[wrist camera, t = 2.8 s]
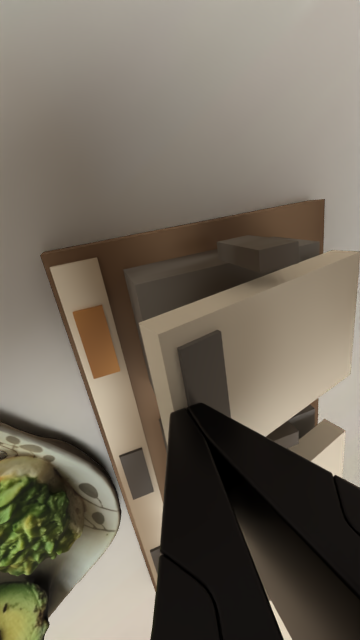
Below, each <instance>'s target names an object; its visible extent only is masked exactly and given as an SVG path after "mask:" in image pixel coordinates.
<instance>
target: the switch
mask: <svg viewBox="0 0 360 640" xmlns="http://www.w3.org/2000/svg"><path fill="white" fill-rule="evenodd" d="M359 261H360V252H357V251H338V250H331V251H329V252H326V253H323V254H321V255H318V256H315V257H313V258H310V259H307V260H305V261H302V262H299V263H298V264H294V265H291V266H289V267H286V268H283V269H281V270H278V271H275V272H273V273H270V274H267V275H265V276H262V277H259V278H257V279H254V280H251V281H249V282H246V283H243V284H241V285H238V286H235V287H233V288H230V289H227V290H225V291H222V292H219V293H217V294H214V295H211V296H209V297H206V298H203V299H201V300H198V301H195V302H193V303H190V304H187V305H185V306H182V307H179V308H177V309H174V310H171V311H169V312H166V313H163V314H161V315H158V316H156V317H153V318H150V319H148V320H145V321H142V322H140V323H139V326H140V331H141V335H142V339H143V344H144V348H145V352H146V356H147V361H148V365H149V369H150V374H151V378H152V382H153V387H154V391H155V395H156V399H157V404H158V408H159V412H160V417H161V421H162V425H163V429H164V434H165V438H166V442H167V446H168V432H169V419H170V413H171V412H174V411H176V410H179V409H182V408H185V409H187V407H188V406H191V405H194V404H197V403H200V402H201V403H204V404H206V405H208V406H210V407H212V408H213V409H215V410H217V411H219V412H221V413H223V414H224V415H226V416H228V417H230V418H232V419H234V420H236V421H237V422H239V423H241V424H243V425H245V426H247V427H248V428H250V429H252V430H254V431H256V432H258V433H259V434H261V435H263V436H265V437H266V436H267V435H269V434H270V433H271V432H273V431H274V430H275V429H277V428H278V427H279V426H281V425H282V424H284V423H285V422H286V421H288V420H289V419H290V418H292V417H293V416H294V415H296V414H297V413H298V412H300V411H301V410H303V409H304V408H305V407H307V406H308V405H309V404H311V403H312V402H313V401H315V400H316V399H318V398H319V397H320V396H322V395H323V394H324V393H326V392H327V391H328V390H330V389H331V388H332V387H334V386H335V385H337V384H338V383H339V382H341V381H342V380H343V379H345V378H346V377H347V376H349V375H350V372H351V359H352V347H353V335H354V322H355V310H356V298H357V285H358V273H359Z"/></svg>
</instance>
